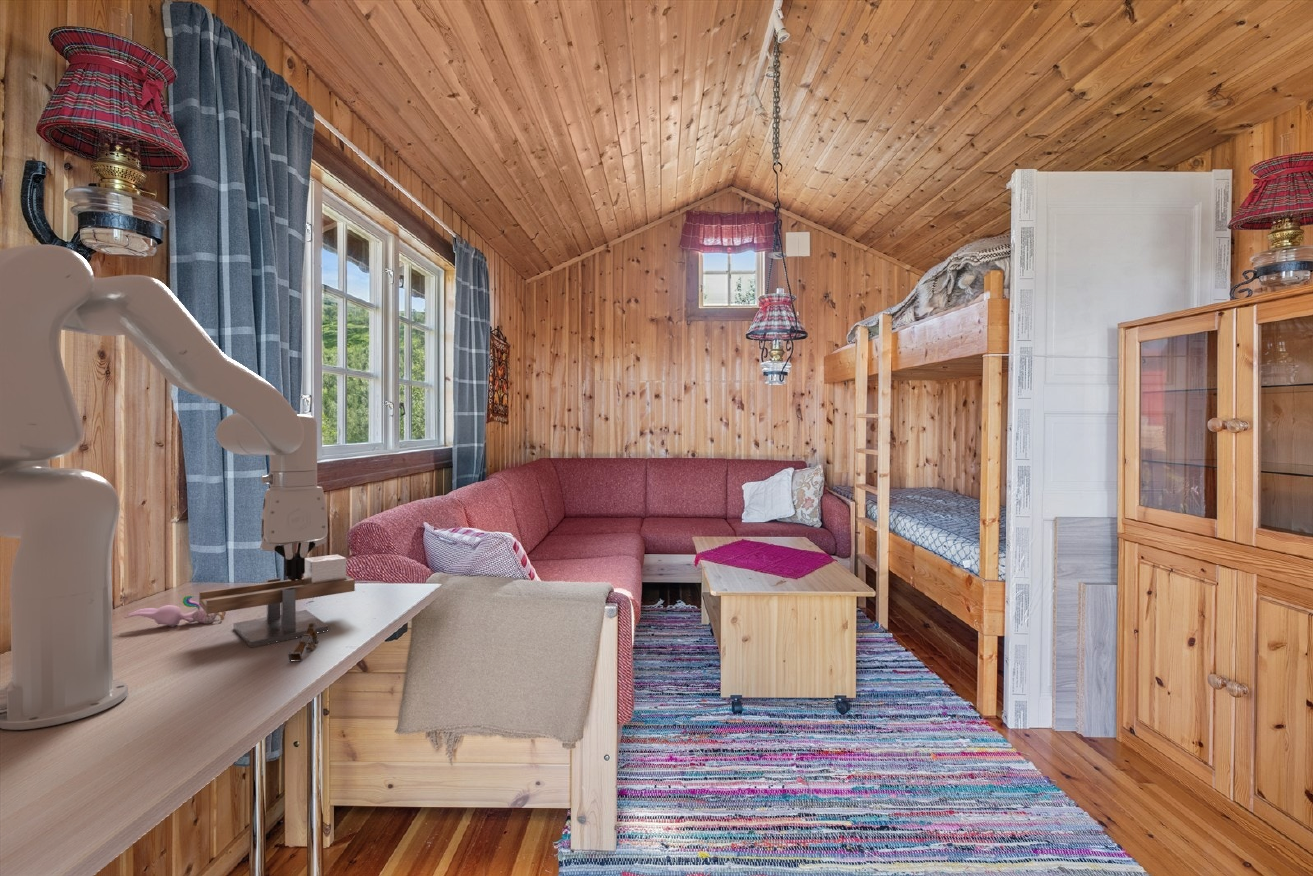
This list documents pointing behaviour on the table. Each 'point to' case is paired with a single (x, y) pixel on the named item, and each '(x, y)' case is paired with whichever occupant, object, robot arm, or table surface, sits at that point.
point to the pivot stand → (278, 622)
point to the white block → (324, 569)
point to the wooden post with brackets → (305, 642)
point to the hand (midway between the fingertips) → (294, 578)
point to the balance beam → (267, 594)
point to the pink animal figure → (177, 614)
